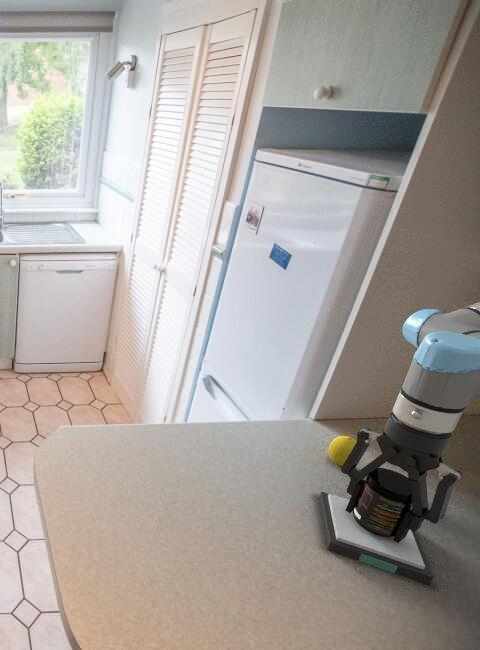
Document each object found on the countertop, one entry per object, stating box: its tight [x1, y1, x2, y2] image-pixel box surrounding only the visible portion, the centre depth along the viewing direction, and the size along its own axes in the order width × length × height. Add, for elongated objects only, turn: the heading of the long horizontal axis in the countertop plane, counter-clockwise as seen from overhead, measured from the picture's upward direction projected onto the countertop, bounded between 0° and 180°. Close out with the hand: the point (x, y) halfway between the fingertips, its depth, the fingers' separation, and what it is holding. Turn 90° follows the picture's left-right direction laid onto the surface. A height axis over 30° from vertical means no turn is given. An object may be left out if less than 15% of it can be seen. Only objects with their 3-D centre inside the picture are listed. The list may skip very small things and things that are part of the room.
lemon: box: [327, 435, 357, 467], centre depth 102 cm, size 6×6×8 cm
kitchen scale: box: [317, 491, 434, 586], centre depth 85 cm, size 14×14×3 cm
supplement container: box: [353, 467, 413, 537], centre depth 82 cm, size 7×7×10 cm
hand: (374, 523), depth 84 cm, fingers closed on supplement container, 7 cm apart
